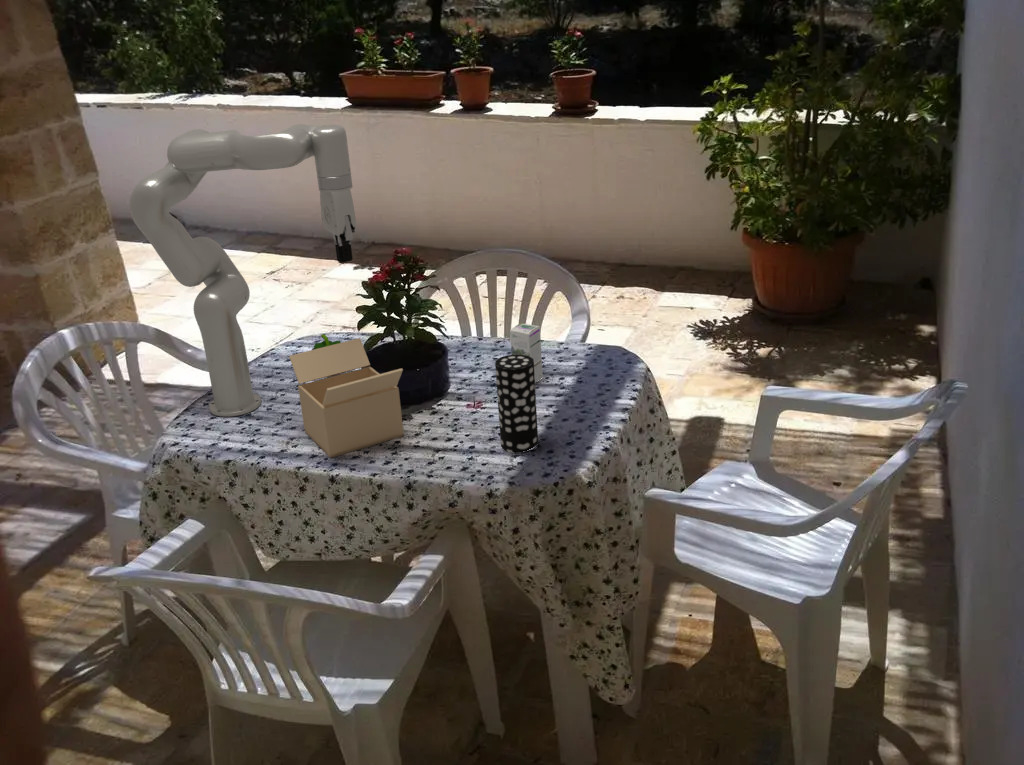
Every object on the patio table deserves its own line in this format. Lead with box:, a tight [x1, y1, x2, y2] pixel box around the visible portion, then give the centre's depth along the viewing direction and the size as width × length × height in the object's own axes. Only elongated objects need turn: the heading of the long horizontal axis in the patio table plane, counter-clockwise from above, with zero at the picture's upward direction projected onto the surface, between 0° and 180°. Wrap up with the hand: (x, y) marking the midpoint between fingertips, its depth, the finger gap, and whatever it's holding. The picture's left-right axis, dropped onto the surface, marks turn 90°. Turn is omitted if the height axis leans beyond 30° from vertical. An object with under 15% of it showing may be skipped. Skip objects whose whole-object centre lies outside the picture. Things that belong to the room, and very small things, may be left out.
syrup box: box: [509, 322, 544, 382], centre depth 262 cm, size 6×6×14 cm
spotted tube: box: [494, 354, 539, 454], centre depth 229 cm, size 8×8×20 cm
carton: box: [297, 366, 405, 459], centre depth 240 cm, size 16×18×12 cm
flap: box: [288, 337, 371, 385], centre depth 244 cm, size 7×18×1 cm
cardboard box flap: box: [322, 367, 404, 406], centre depth 229 cm, size 7×18×1 cm
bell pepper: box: [312, 333, 342, 350], centre depth 276 cm, size 8×8×10 cm
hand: (345, 260), depth 242 cm, fingers closed
